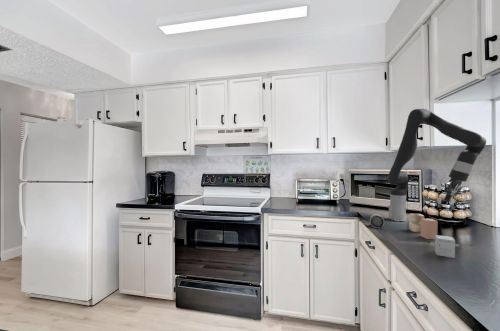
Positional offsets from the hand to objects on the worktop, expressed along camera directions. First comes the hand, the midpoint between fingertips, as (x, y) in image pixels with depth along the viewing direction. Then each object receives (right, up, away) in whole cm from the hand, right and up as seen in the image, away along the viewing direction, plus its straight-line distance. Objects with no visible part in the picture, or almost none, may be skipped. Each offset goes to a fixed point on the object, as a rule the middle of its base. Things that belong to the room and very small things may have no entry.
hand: (446, 201), depth 134 cm
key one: (-14, -17, +3) cm, 22 cm away
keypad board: (-11, -18, -3) cm, 22 cm away
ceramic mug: (-30, -18, +17) cm, 39 cm away
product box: (-23, -19, -28) cm, 41 cm away
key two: (-16, -17, -9) cm, 25 cm away
